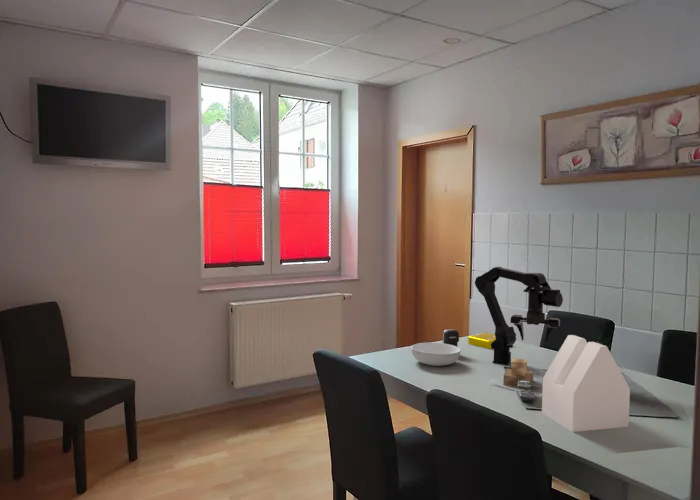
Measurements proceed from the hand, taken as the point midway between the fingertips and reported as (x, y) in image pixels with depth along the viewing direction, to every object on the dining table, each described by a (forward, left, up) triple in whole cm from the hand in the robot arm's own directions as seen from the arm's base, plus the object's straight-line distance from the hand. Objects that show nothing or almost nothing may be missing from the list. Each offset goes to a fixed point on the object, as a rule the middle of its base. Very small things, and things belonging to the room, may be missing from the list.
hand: (534, 341), depth 215 cm
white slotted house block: (+21, -49, -12) cm, 55 cm away
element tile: (-26, +37, -13) cm, 47 cm away
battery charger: (-37, +8, -12) cm, 40 cm away
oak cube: (-3, -20, -8) cm, 22 cm away
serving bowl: (-39, -9, -12) cm, 42 cm away
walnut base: (-3, -20, -12) cm, 24 cm away
